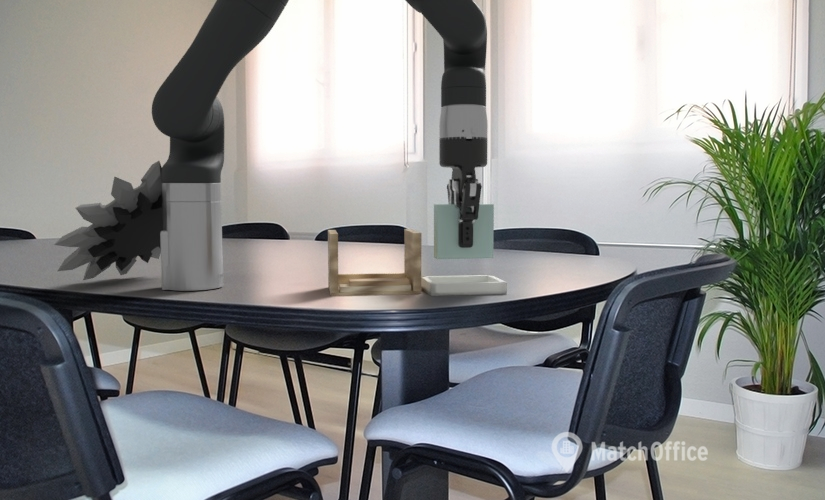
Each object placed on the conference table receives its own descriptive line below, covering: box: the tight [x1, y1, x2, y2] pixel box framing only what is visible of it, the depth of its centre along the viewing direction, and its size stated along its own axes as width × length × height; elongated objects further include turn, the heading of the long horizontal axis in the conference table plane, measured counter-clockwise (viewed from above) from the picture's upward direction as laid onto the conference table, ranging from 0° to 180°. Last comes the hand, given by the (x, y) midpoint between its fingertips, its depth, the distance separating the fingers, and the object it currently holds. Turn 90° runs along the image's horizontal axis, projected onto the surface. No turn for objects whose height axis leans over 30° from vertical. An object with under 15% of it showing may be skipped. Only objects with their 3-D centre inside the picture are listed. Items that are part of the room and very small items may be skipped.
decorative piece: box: [53, 160, 163, 281], centre depth 117 cm, size 30×4×30 cm
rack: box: [327, 228, 422, 297], centre depth 108 cm, size 14×10×10 cm
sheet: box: [433, 203, 495, 260], centre depth 106 cm, size 9×3×8 cm, turn 99°
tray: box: [421, 274, 508, 297], centre depth 107 cm, size 12×9×2 cm
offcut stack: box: [339, 278, 411, 292], centre depth 105 cm, size 11×3×2 cm, turn 99°
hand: (463, 245), depth 107 cm, fingers closed on sheet, 3 cm apart
